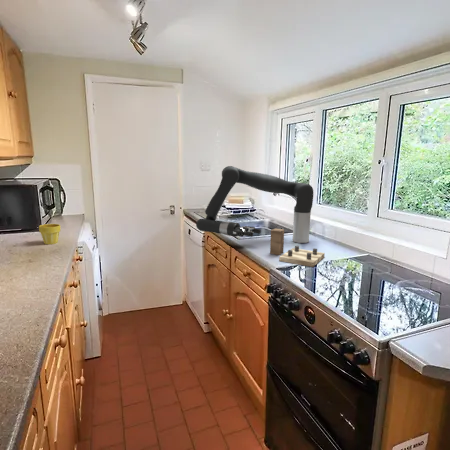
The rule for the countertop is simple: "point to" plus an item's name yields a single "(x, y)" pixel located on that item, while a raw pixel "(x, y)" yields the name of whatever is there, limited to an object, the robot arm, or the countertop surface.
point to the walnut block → (277, 241)
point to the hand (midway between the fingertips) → (256, 233)
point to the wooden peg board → (302, 256)
